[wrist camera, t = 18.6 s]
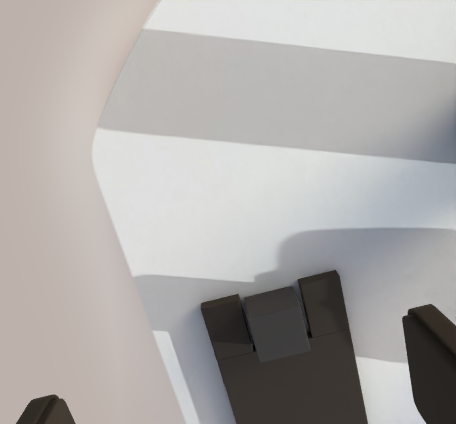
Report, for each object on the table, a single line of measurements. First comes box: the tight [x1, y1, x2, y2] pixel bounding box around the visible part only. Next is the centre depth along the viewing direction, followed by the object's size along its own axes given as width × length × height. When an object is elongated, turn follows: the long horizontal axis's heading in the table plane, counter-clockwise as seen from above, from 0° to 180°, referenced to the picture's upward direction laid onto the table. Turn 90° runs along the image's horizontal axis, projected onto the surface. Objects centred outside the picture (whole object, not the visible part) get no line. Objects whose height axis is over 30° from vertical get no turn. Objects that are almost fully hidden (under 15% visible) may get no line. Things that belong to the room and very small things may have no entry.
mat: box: [201, 270, 368, 424], centre depth 41 cm, size 14×30×1 cm, turn 15°
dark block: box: [245, 286, 310, 363], centre depth 37 cm, size 5×5×4 cm
